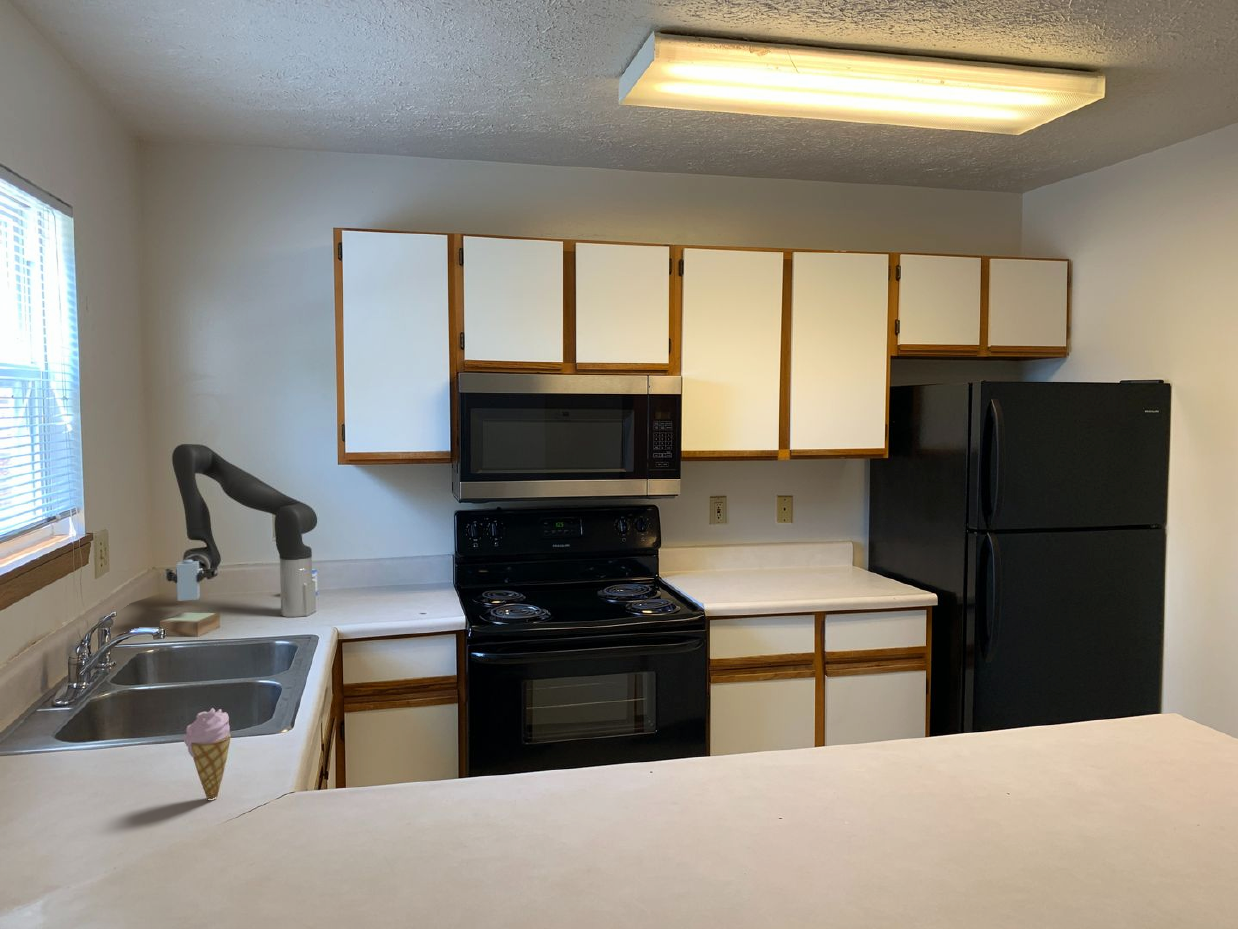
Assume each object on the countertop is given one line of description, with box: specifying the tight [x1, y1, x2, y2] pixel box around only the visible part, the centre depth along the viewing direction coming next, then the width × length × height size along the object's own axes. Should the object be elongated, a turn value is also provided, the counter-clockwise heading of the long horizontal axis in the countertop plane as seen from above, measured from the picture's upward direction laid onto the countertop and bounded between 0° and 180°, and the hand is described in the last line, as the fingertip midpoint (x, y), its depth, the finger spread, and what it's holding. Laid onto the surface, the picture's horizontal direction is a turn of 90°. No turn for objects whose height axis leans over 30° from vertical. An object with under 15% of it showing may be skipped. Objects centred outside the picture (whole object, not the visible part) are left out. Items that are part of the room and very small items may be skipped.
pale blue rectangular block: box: [176, 559, 201, 602], centre depth 247 cm, size 5×5×11 cm
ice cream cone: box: [183, 707, 232, 799], centre depth 141 cm, size 7×6×15 cm
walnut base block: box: [159, 611, 221, 638], centre depth 248 cm, size 11×11×4 cm
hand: (187, 578), depth 245 cm, fingers closed on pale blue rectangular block, 5 cm apart
